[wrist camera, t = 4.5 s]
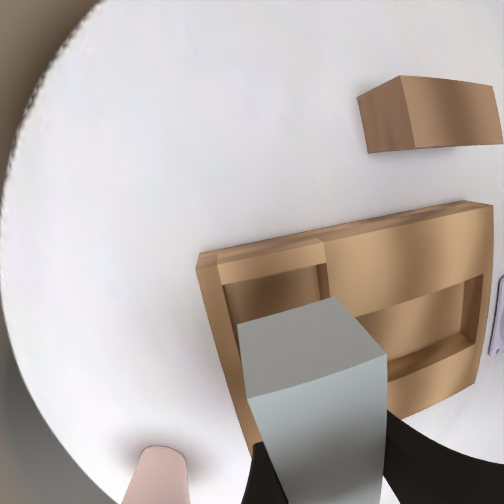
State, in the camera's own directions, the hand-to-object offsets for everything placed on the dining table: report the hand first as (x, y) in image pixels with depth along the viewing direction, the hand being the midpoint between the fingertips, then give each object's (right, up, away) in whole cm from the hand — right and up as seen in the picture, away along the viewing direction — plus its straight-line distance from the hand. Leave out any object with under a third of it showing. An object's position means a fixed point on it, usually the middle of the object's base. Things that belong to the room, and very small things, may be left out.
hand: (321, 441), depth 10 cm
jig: (+5, +2, +9) cm, 10 cm away
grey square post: (0, 0, +2) cm, 2 cm away
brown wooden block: (+7, +15, +6) cm, 18 cm away
